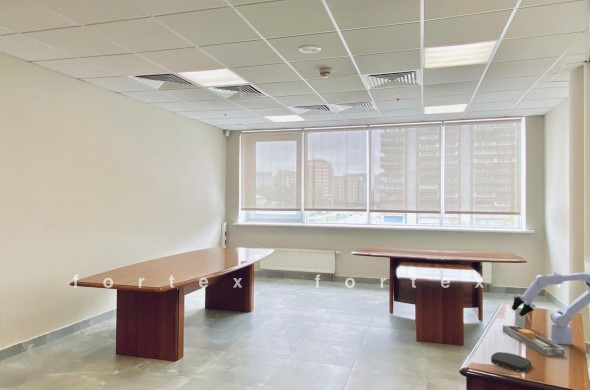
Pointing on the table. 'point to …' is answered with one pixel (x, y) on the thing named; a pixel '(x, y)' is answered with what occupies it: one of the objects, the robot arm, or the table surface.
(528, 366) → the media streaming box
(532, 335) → the orange block
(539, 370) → the table surface
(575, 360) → the table surface
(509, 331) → the trap lane
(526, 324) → the small box
